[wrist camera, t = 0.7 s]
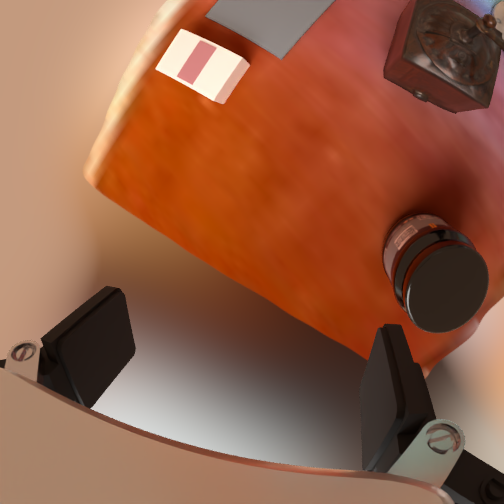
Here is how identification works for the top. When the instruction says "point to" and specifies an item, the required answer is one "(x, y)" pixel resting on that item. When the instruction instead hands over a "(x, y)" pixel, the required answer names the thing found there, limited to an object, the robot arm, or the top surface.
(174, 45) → the card box
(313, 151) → the top surface
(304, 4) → the mat
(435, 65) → the vintage coffee grinder
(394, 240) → the supplement container
